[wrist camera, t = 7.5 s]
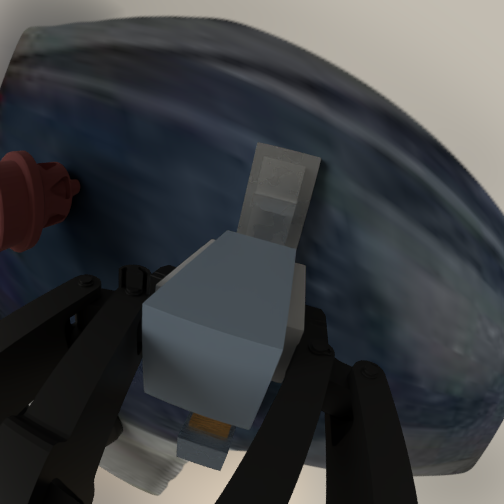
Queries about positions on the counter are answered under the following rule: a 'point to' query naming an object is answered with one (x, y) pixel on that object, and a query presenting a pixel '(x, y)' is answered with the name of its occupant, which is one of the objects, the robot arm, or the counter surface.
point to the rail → (269, 229)
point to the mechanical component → (31, 199)
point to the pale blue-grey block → (219, 329)
